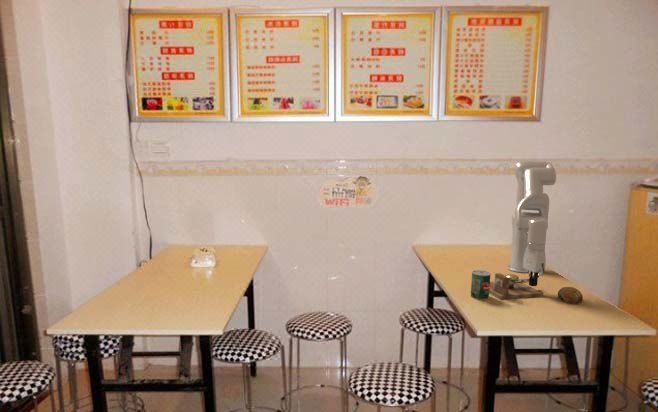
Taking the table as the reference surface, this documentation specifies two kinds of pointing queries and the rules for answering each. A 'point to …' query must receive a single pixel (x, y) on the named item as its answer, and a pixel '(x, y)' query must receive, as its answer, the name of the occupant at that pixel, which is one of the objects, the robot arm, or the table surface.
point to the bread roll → (570, 295)
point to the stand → (503, 291)
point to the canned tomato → (480, 285)
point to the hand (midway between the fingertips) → (532, 285)
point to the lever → (515, 280)
